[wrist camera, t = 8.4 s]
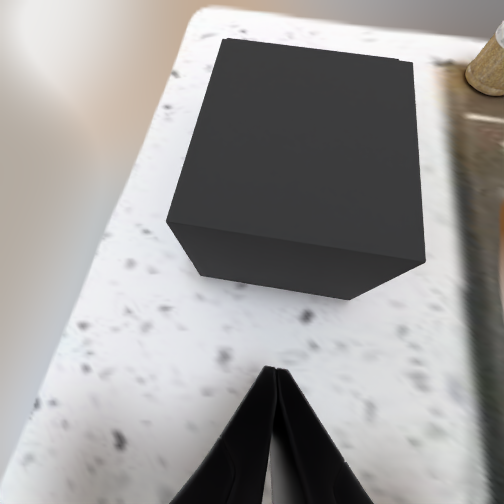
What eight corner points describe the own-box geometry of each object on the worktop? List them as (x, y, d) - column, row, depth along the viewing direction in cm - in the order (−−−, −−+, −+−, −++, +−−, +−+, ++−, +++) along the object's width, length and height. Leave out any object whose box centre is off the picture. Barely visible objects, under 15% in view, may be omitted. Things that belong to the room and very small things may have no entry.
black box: (349, 300, 17) (426, 262, 10) (200, 275, 18) (165, 221, 10) (354, 164, 21) (413, 61, 14) (231, 146, 22) (222, 38, 14)
